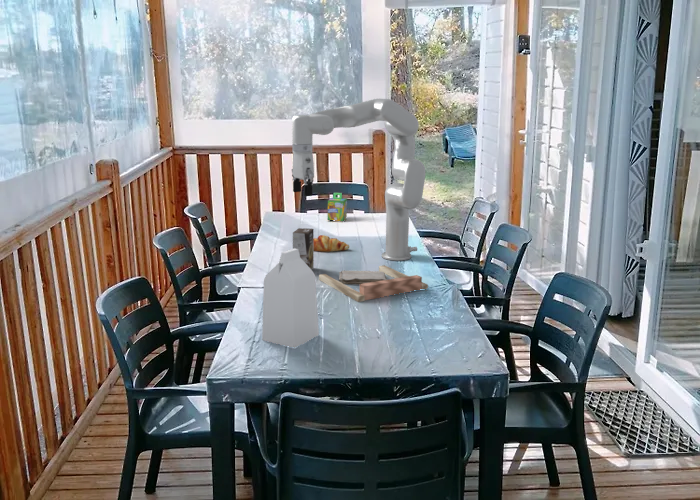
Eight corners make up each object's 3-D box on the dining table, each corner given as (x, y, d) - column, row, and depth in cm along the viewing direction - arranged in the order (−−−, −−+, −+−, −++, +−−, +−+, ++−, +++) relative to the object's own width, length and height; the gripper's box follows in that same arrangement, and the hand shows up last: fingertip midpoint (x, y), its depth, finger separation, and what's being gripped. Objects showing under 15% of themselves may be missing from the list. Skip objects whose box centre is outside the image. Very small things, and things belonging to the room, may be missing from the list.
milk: (294, 348, 182) (293, 258, 175) (262, 340, 188) (260, 252, 181) (319, 335, 192) (319, 249, 185) (287, 327, 198) (286, 243, 191)
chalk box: (327, 221, 350) (327, 194, 347) (330, 218, 359) (330, 191, 356) (344, 222, 349) (344, 194, 345) (347, 218, 358) (347, 192, 354)
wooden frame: (384, 270, 260) (384, 257, 259) (427, 289, 236) (428, 276, 234) (319, 279, 246) (319, 267, 245) (358, 302, 221) (358, 287, 220)
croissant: (349, 256, 294) (350, 239, 296) (349, 251, 284) (349, 233, 286) (302, 254, 294) (303, 237, 296) (300, 249, 285) (301, 231, 286)
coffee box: (308, 274, 253) (308, 233, 249) (292, 272, 255) (291, 232, 251) (314, 267, 262) (314, 228, 258) (298, 266, 263) (298, 227, 259)
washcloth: (338, 276, 252) (338, 268, 252) (385, 276, 253) (385, 269, 252) (338, 285, 241) (338, 277, 240) (387, 286, 241) (387, 278, 240)
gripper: (321, 150, 241) (321, 196, 245) (301, 146, 255) (301, 189, 259) (303, 151, 237) (303, 197, 241) (283, 146, 252) (284, 191, 256)
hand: (302, 193), depth 250 cm, fingers open, 9 cm apart
